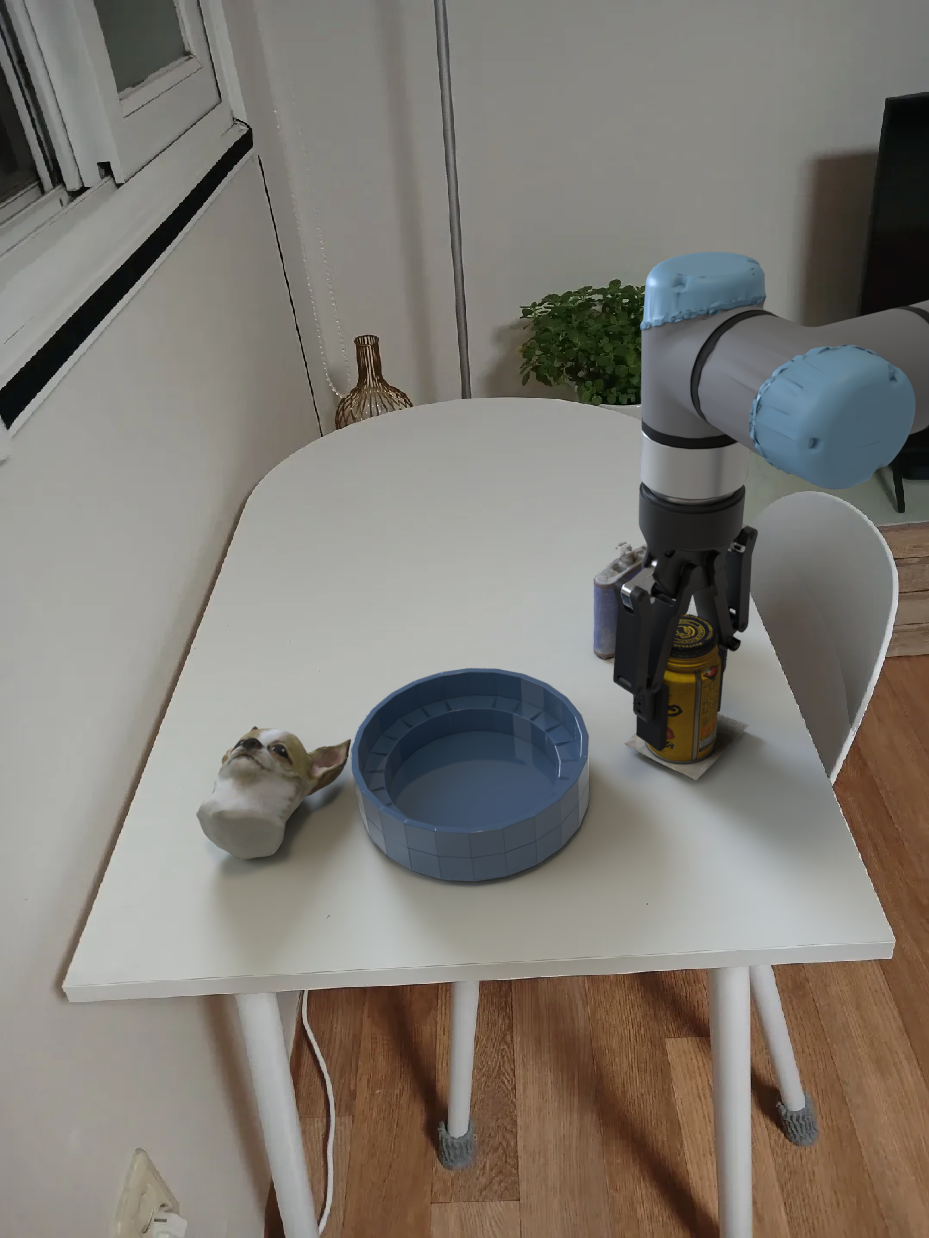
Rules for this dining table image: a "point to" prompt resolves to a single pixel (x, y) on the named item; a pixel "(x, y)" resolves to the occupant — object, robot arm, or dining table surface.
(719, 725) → the condiment
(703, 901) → the dining table surface
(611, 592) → the flask
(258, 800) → the ceramic sculpture
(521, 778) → the basin
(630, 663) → the robot arm
